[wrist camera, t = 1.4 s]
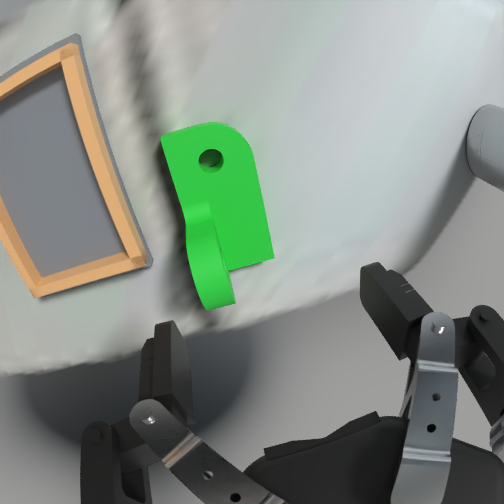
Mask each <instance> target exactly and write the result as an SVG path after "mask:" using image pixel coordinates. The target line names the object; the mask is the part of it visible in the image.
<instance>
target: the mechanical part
mask: <svg viewBox="0 0 504 504" xmlns="http://www.w3.org/2000/svg"><path fill="white" fill-rule="evenodd" d="M160 140H161V144H162V147H163V150H164V153H165V157H166V160H167V163H168V166H169V170H170V173H171V176H172V179H173V182H174V185H175V189H176V192H177V195H178V198H179V201H180V204H181V207H182V210H183V214H184V218H185V223H186V248H187V254H188V260H189V264H190V268H191V272H192V276H193V279H194V283H195V286H196V289H197V292H198V294H199V297H200V299H201V302H202V304H203V306H204V307H205V309H206V310H207V311H209V310H213V309H216V308H220V307H224V306H227V305H231V304H235V297H234V292H233V288H232V283H231V279H230V274H229V271H230V270H234V269H238V268H241V267H245V266H248V265H252V264H255V263H259V262H263V261H266V260H270V259H273V258H274V253H273V248H272V243H271V238H270V233H269V228H268V223H267V218H266V213H265V208H264V204H263V199H262V194H261V189H260V185H259V180H258V175H257V170H256V166H255V161H254V156H253V153H252V150H251V148H250V146H249V144H248V142H247V141H246V140H245V139H244V137H243V136H242V135H241V134H240V133H239V132H237V131H236V130H235V129H234V128H232V127H230V126H228V125H225V124H222V123H217V122H207V123H202V124H198V125H195V126H191V127H187V128H184V129H181V130H177V131H174V132H171V133H167V134H164V135H162V137H161V139H160ZM208 149H215V150H218V151H219V152H220V153H221V155H222V156H221V160H220V162H219V163H218V164H217V165H215V166H212V167H206V166H204V165H202V164H201V163H200V162H199V157H200V155H201V154H202V153H203V152H204V151H205V150H208Z"/></svg>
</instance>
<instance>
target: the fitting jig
mask: <svg viewBox="0 0 504 504" xmlns="http://www.w3.org/2000/svg"><path fill="white" fill-rule="evenodd" d="M0 239H1V241H2V243H3V245H4V247H5V249H6V251H7V253H8V255H9V256H10V258H11V260H12V262H13V264H14V265H15V267H16V269H17V271H18V272H19V274H20V276H21V277H22V279H23V281H24V282H25V284H26V286H27V287H28V289H29V290H30V292H31V294H32V295H33V297H34V298H37V297H41V296H49V295H52V294H55V293H59V292H62V291H66V290H69V289H72V288H76V287H79V286H83V285H86V284H90V283H93V282H96V281H100V280H103V279H107V278H110V277H114V276H117V275H121V274H124V273H128V272H131V271H135V270H138V269H142V268H145V267H149V266H152V264H153V258H152V255H151V253H150V251H149V248H148V246H147V244H146V241H145V239H144V236H143V234H142V231H141V229H140V226H139V224H138V221H137V219H136V216H135V214H134V211H133V209H132V206H131V203H130V201H129V198H128V195H127V193H126V190H125V187H124V184H123V182H122V179H121V176H120V173H119V170H118V168H117V165H116V162H115V159H114V156H113V153H112V150H111V147H110V144H109V141H108V138H107V134H106V131H105V128H104V125H103V121H102V118H101V115H100V111H99V108H98V105H97V101H96V97H95V94H94V90H93V87H92V83H91V79H90V75H89V71H88V67H87V63H86V59H85V55H84V51H83V46H82V42H81V37H80V35H79V34H76V33H75V34H73V35H71V36H69V37H67V38H65V39H63V40H61V41H59V42H57V43H55V44H53V45H51V46H50V47H48V48H46V49H44V50H42V51H40V52H39V53H37V54H35V55H33V56H32V57H30V58H28V59H27V60H25V61H23V62H22V63H20V64H19V65H17V66H15V67H14V68H12V69H11V70H9V71H8V72H6V73H5V74H3V75H2V76H0Z"/></svg>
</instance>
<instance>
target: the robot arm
mask: <svg viewBox="0 0 504 504" xmlns="http://www.w3.org/2000/svg"><path fill="white" fill-rule="evenodd" d="M467 157H468V162H469V165H470V168H471V170H472V172H473V173H474V174H475V175H476V176H477V177H478V178H480V179H482V180H484V181H486V182H487V183H489V184H491V185H493V186H495V187H496V188H498V189H500V190H501V191H503V192H504V108H501V107H498V106H495V105H486V106H483V107H482V108H481V109H479V110H478V112H477V113H476V114H475V116H474V118H473V120H472V122H471V125H470V127H469V131H468V136H467ZM360 299H361V302H362V305H363V306H364V308H365V310H366V311H367V313H368V314H369V315H370V317H371V319H372V320H373V321H374V323H375V324H376V326H377V327H378V329H379V330H380V332H381V333H382V335H383V336H384V338H385V339H386V341H387V342H388V344H389V345H390V347H391V348H392V350H393V352H394V353H395V355H396V356H397V358H398V359H399V360H402V359H404V358H406V357H408V358H409V359H410V361H411V362H410V366H409V372H408V378H407V384H406V389H405V394H404V399H403V403H402V407H401V410H400V413H399V417H396V416H383V417H379V416H378V414H377V412H376V411H374V412H372V413H370V414H367V415H365V416H362V417H360V418H357V419H355V420H353V421H350V422H348V423H347V424H345V425H344V426H342V427H341V428H339V429H338V430H336V431H335V432H333V433H331V434H330V435H328V436H327V437H325V438H321V439H310V440H298V441H290V442H287V443H283V444H279V445H276V446H272V447H268V448H264V453H265V455H264V456H262V457H260V458H259V459H257V460H256V461H255V462H253V463H252V464H251V465H250V466H248V467H247V468H246V470H245V471H244V472H241V471H240V470H238V469H237V468H236V467H235V466H233V465H232V464H231V463H229V462H228V461H227V460H226V459H224V458H223V457H222V456H221V455H219V454H218V453H217V452H216V451H214V450H213V449H212V448H211V447H210V446H208V445H207V444H206V443H205V442H203V440H201V439H200V438H199V437H198V436H196V435H194V434H192V432H190V431H189V430H188V426H187V425H188V424H194V423H195V414H194V404H193V393H192V382H191V369H190V357H189V352H188V348H187V346H186V343H185V341H184V340H183V338H182V336H181V334H180V332H179V330H178V328H177V326H176V324H175V322H174V321H173V320H171V321H167V322H163V323H159V324H156V325H155V332H154V338H150V339H147V340H146V342H145V344H144V346H143V348H142V354H141V361H142V362H141V370H140V385H139V402H138V403H137V404H136V405H135V406H134V407H133V408H132V410H131V412H130V416H129V417H128V418H126V419H124V420H122V421H120V422H118V423H116V424H113V425H111V426H109V425H108V424H106V423H105V422H102V421H96V422H93V423H91V424H89V425H88V426H87V427H86V428H85V430H84V431H83V434H82V439H81V467H80V471H81V472H80V478H81V479H80V488H81V489H80V490H81V504H152V497H151V490H150V482H149V474H148V466H149V465H151V464H153V463H156V462H158V461H160V460H162V461H163V462H164V465H165V466H166V467H167V468H168V469H169V470H170V472H171V473H172V474H173V475H175V477H176V478H177V479H178V480H180V481H181V482H182V483H183V484H184V485H185V486H186V487H187V488H188V489H189V490H190V491H191V492H192V493H193V494H194V495H195V496H197V497H198V498H199V499H200V500H201V501H202V502H203V503H204V504H504V320H503V319H502V318H501V317H500V316H499V314H498V313H497V312H496V311H495V310H494V309H493V308H491V307H489V306H485V305H479V306H476V307H474V308H473V309H472V311H471V313H470V316H469V317H463V318H456V319H452V318H451V317H449V316H448V315H447V314H445V313H442V312H434V311H433V310H432V309H431V308H430V306H429V305H428V304H427V303H426V302H425V301H424V299H423V298H422V297H421V296H420V295H419V294H418V293H417V292H416V290H414V288H413V287H412V286H411V285H410V284H408V282H407V281H406V280H405V278H404V277H403V276H402V275H401V274H399V273H397V272H395V271H393V270H389V271H386V269H385V268H384V267H383V266H382V265H381V264H380V263H379V262H375V263H372V264H369V265H366V266H363V267H361V271H360ZM486 355H487V356H488V357H487V356H486ZM489 359H490V360H489ZM491 362H492V363H491ZM493 365H494V366H493ZM458 371H459V372H460V374H461V375H462V377H463V378H464V380H465V382H466V383H467V385H468V387H469V388H470V390H471V392H472V393H473V395H474V397H475V398H476V400H477V402H478V403H479V405H480V407H481V409H482V410H483V412H484V414H485V416H486V418H487V419H488V421H489V423H490V425H491V427H492V428H491V430H490V447H491V448H492V452H491V451H487V450H485V449H482V448H479V447H477V446H474V445H471V444H468V443H465V442H463V441H460V440H458V439H455V438H453V436H452V435H453V430H454V422H455V412H456V403H457V391H458V390H457V389H458Z"/></svg>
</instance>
